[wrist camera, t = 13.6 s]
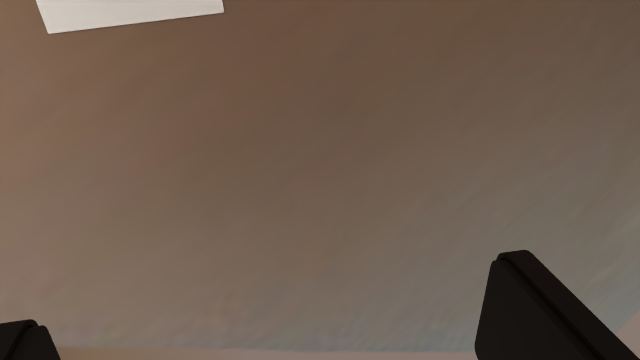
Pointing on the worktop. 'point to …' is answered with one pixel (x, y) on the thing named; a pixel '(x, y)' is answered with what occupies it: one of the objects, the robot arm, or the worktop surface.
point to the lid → (118, 12)
